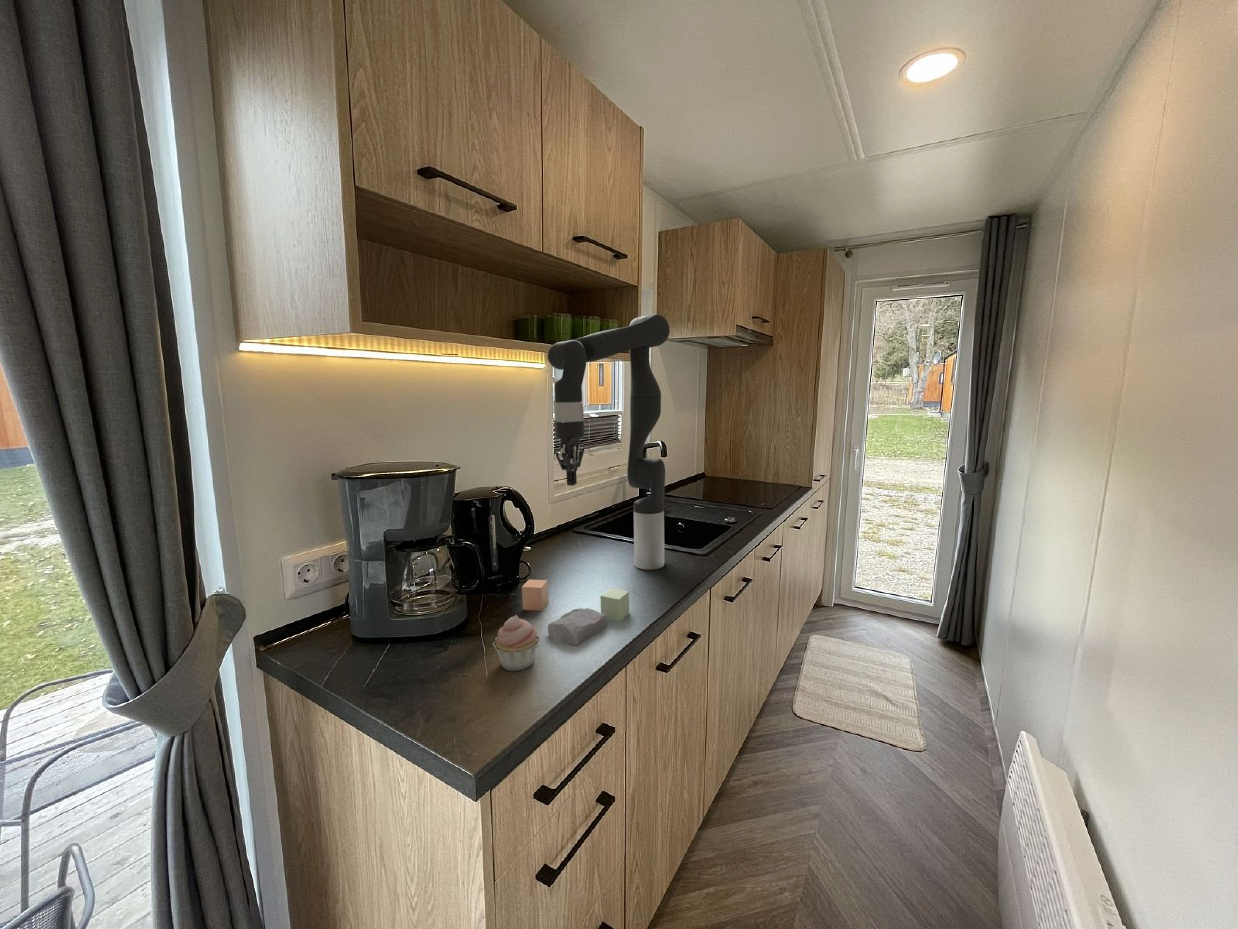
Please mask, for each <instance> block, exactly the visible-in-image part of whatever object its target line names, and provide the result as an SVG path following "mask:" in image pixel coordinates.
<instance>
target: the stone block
mask: <svg viewBox="0 0 1238 929" xmlns="http://www.w3.org/2000/svg"><path fill="white" fill-rule="evenodd" d="M607 624H608V619H607V618H606V615H605V614H602V613H601V611H598V610H594V609H592V608H589V607H587V608H585V607H584V608H582V607H580V608H576V609H575V608H574V609H572V610H570V611H569V612H566V613H564V614H562V615H561V616H560V617H559V618H558V619H555V620H554V621H551V622H550V623H548V625H547V634H548V636H549V638H550V639H552V640H554V641H556V642H561V643H565V644H567V645H571V646H573V647H577V646H580V645H582V644H583V643H584V642H586V641H588V640H589V639H590V638H592V637H593V636H594V635H595V636H596V634H597V633H599V632H601V631H602V630H603V629H605V628H606V627H607Z"/></svg>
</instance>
